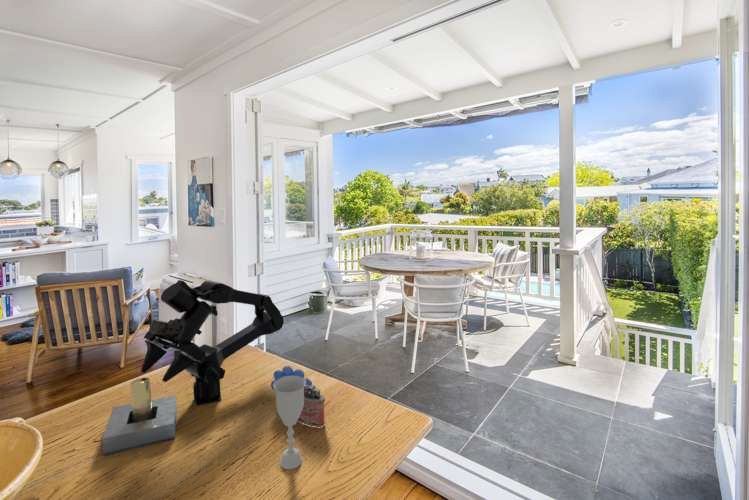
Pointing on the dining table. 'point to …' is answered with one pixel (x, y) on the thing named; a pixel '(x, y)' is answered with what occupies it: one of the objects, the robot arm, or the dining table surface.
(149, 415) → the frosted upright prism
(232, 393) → the dining table surface
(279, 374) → the grapes
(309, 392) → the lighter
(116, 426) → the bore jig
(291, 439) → the chalice
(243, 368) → the dining table surface
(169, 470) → the dining table surface
